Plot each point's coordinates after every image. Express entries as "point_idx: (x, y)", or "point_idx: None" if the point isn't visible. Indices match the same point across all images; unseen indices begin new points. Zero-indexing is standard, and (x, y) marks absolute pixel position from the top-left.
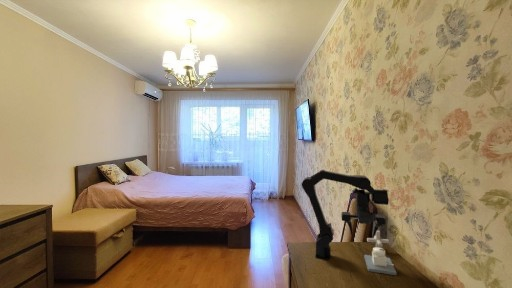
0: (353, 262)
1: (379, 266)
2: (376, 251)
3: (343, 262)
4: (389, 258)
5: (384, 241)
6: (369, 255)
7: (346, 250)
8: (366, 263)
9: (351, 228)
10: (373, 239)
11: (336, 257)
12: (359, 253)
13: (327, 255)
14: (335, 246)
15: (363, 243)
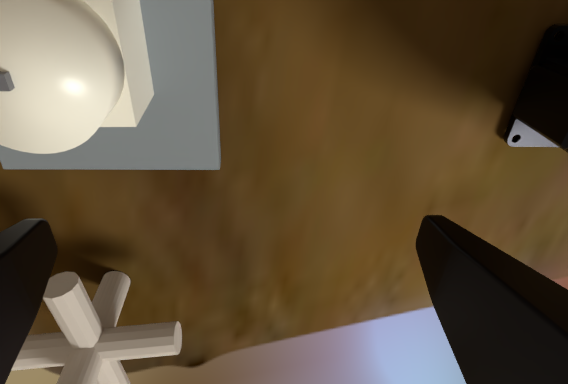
0: (329, 32)
1: None
2: (47, 7)
3: (425, 5)
4: (1, 157)
5: (31, 344)
6: (175, 165)
7: (344, 224)
8: (212, 11)
9: (547, 305)
10: (123, 346)
11: (460, 89)
12: (252, 205)
13: (566, 61)
14: (412, 258)
15: (209, 337)
